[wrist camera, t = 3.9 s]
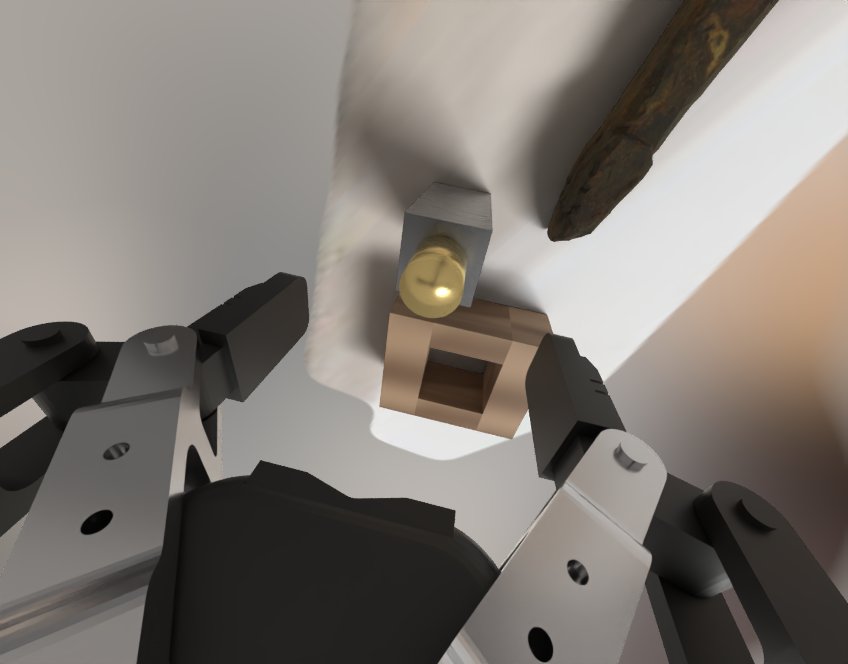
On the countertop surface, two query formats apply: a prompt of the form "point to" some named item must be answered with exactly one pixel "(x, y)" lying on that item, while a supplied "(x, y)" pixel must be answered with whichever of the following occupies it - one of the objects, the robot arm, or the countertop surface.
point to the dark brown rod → (652, 108)
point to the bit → (443, 249)
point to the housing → (455, 388)
